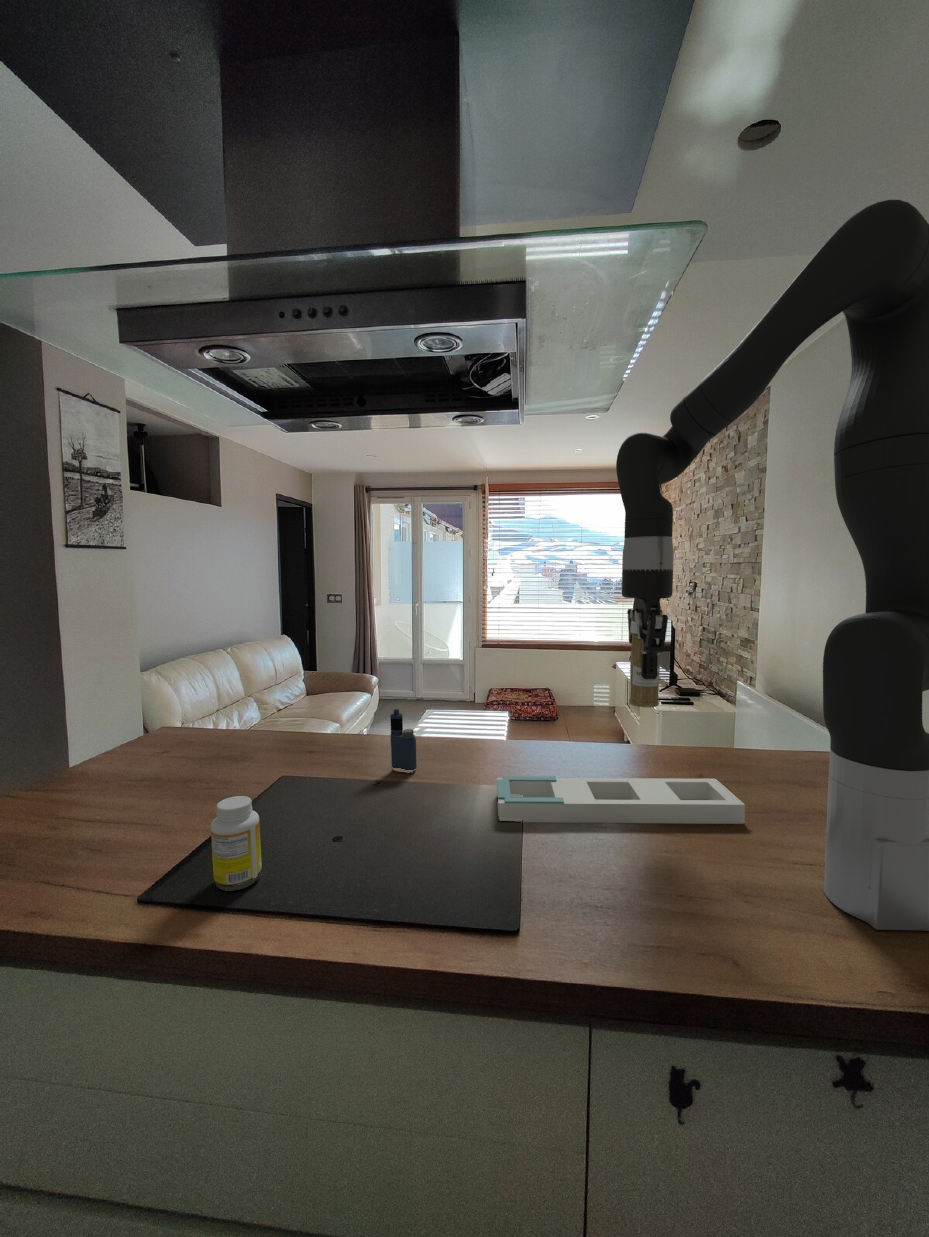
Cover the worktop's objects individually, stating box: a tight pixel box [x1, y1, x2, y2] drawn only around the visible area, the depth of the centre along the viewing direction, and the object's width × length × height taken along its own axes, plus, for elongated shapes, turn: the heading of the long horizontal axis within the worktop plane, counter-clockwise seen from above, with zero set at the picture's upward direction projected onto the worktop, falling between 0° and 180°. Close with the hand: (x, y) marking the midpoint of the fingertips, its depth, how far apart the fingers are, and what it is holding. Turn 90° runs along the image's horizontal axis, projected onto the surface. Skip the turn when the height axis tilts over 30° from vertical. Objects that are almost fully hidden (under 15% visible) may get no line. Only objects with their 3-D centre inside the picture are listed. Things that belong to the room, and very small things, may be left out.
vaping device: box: [389, 708, 418, 770], centre depth 100 cm, size 3×5×12 cm, turn 67°
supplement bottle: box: [210, 795, 263, 887], centre depth 64 cm, size 6×6×10 cm
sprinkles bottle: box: [628, 621, 661, 709], centre depth 82 cm, size 5×5×14 cm
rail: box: [496, 775, 746, 825], centre depth 83 cm, size 10×37×3 cm, turn 88°
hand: (644, 674), depth 82 cm, fingers closed on sprinkles bottle, 4 cm apart
